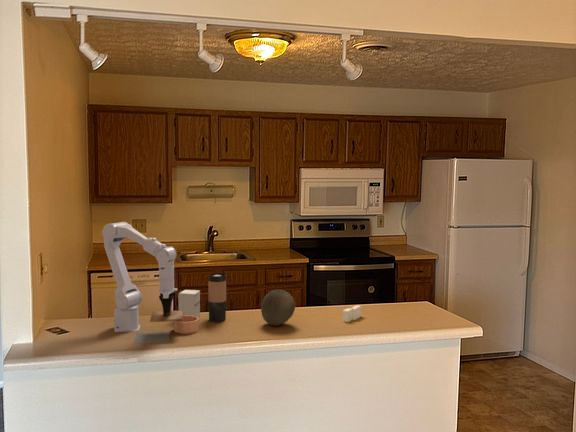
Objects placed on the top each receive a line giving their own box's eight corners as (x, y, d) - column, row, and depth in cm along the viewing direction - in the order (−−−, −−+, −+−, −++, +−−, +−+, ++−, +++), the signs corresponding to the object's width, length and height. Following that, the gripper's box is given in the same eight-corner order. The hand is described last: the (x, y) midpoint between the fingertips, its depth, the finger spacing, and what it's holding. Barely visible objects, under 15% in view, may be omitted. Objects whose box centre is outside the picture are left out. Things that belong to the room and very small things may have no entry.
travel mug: (229, 319, 236) (229, 274, 234) (218, 323, 230) (218, 277, 228) (216, 316, 240) (216, 272, 238) (204, 320, 234) (204, 275, 232)
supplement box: (194, 323, 229) (194, 294, 228) (178, 322, 231) (177, 293, 230) (200, 318, 237) (200, 290, 235) (184, 317, 238) (184, 289, 237)
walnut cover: (150, 322, 205) (150, 312, 205) (152, 313, 217) (152, 304, 217) (182, 321, 208) (182, 311, 207) (182, 312, 219) (182, 303, 219)
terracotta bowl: (173, 335, 213) (173, 323, 213) (174, 327, 223) (174, 315, 223) (199, 334, 215) (199, 322, 214) (199, 326, 225) (198, 314, 224)
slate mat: (133, 345, 201) (132, 343, 201) (136, 334, 214) (136, 332, 214) (168, 343, 204) (168, 342, 204) (170, 332, 216) (170, 331, 216)
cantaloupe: (266, 331, 219) (266, 295, 218) (257, 321, 233) (257, 287, 231) (299, 328, 224) (299, 293, 222) (288, 319, 237) (288, 285, 236)
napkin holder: (359, 315, 247) (359, 302, 246) (371, 322, 236) (372, 309, 235) (329, 317, 241) (329, 305, 241) (340, 325, 231) (341, 312, 230)
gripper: (176, 281, 204) (176, 316, 206) (178, 273, 219) (178, 306, 220) (157, 282, 203) (157, 317, 205) (160, 274, 217) (160, 307, 219)
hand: (167, 311), depth 212 cm, fingers closed on walnut cover, 3 cm apart
